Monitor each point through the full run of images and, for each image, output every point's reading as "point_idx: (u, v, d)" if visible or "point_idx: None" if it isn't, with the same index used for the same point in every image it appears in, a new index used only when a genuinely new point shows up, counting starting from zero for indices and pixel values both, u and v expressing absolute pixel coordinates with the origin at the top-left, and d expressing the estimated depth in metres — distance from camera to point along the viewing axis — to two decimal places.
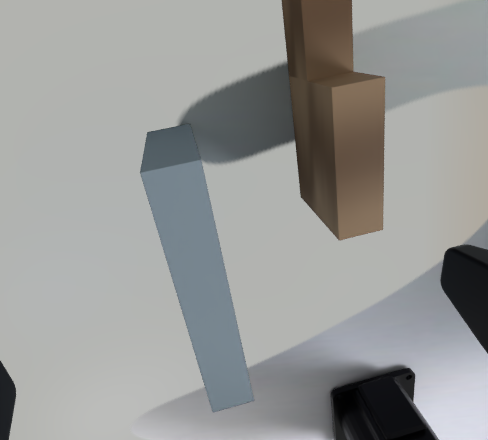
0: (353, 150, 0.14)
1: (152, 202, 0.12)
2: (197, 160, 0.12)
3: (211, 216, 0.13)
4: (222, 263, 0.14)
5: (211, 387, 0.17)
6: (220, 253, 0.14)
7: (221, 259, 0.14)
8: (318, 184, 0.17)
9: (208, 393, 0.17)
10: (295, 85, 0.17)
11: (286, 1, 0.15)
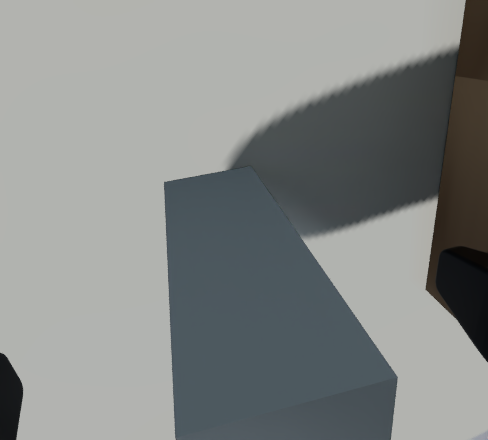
0: None
1: None
2: (383, 378, 0.03)
3: None
4: None
5: None
6: None
7: None
8: None
9: None
10: (478, 97, 0.08)
11: None
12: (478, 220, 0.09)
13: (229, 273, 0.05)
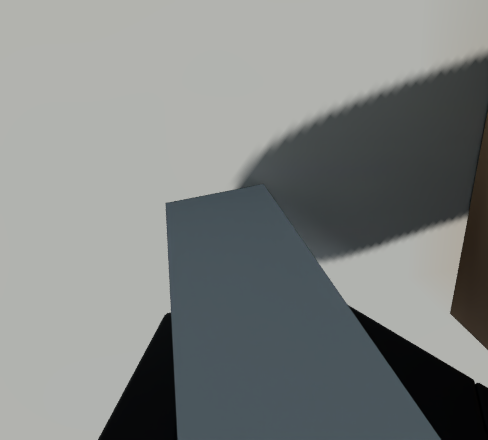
0: None
1: None
2: None
3: None
4: None
5: None
6: None
7: None
8: None
9: None
10: None
11: None
12: None
13: (248, 333, 0.04)
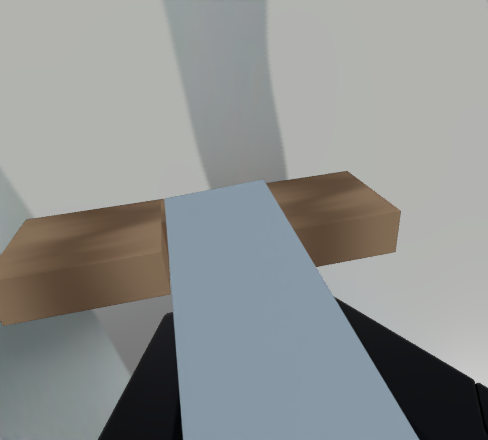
0: (312, 252, 0.15)
1: None
2: None
3: None
4: None
5: None
6: None
7: None
8: None
9: None
10: None
11: None
12: None
13: (251, 350, 0.04)
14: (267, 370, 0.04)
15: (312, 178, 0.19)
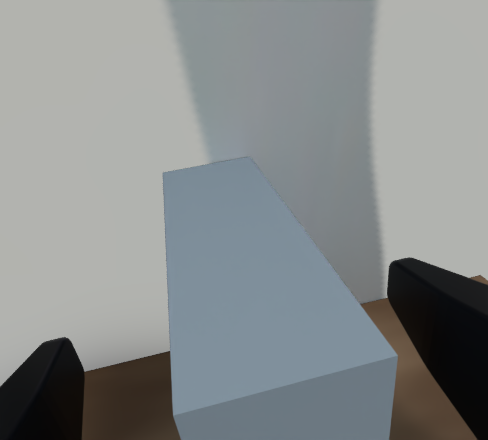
0: None
1: None
2: (384, 358, 0.03)
3: None
4: None
5: None
6: None
7: None
8: None
9: None
10: None
11: None
12: None
13: (228, 258, 0.05)
14: (240, 268, 0.05)
15: None
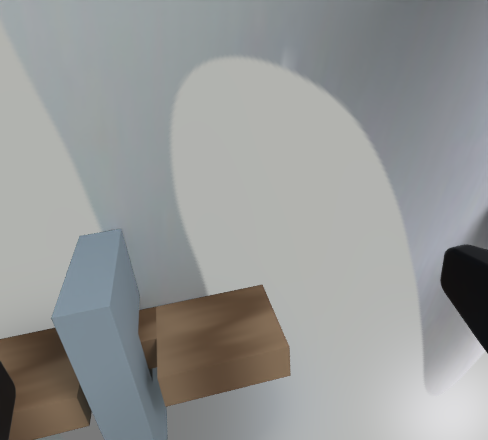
0: (214, 383, 0.18)
1: (64, 340, 0.14)
2: (106, 306, 0.13)
3: (121, 348, 0.14)
4: (133, 383, 0.15)
5: None
6: (131, 375, 0.15)
7: (132, 380, 0.15)
8: None
9: None
10: None
11: None
12: None
13: (84, 278, 0.15)
14: (86, 282, 0.15)
15: (229, 294, 0.22)
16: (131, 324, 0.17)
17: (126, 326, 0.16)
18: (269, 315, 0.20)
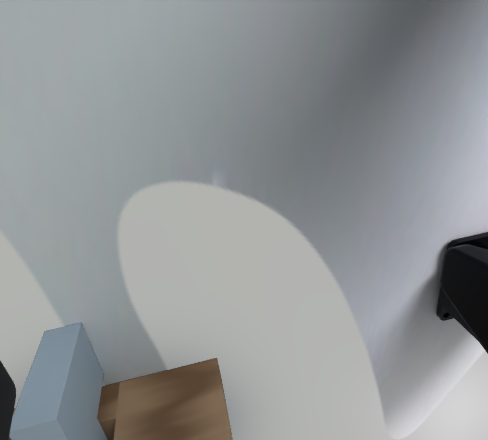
0: None
1: None
2: (53, 420, 0.16)
3: None
4: None
5: None
6: None
7: None
8: None
9: None
10: None
11: None
12: None
13: (40, 385, 0.17)
14: (41, 390, 0.17)
15: (186, 369, 0.24)
16: (87, 415, 0.19)
17: (79, 422, 0.18)
18: (217, 393, 0.22)
